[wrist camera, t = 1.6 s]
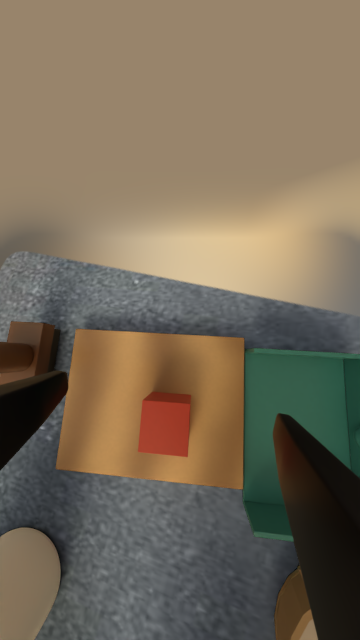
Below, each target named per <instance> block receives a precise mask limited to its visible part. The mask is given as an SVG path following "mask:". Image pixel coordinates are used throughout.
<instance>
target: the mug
mask: <svg viewBox="0 0 360 640" xmlns="http://www.w3.org/2000/svg"><path fill="white" fill-rule="evenodd" d="M60 576H61V569H60V561H59V556H58V553H57V550H56V548H55V546H54V544H53V543H52V541H51V540H50V539H49V538H48V537H47V536H46V535H45V534H44V533H42V532H40V531H39V530H36V529H33V528H17V529H14V530H11V531H9V532H7V533H5V534H4V535H2V536H1V537H0V640H34V639H35V637H36V636H37V634H38V632H39V630H40V629H41V627H42V625H43V623H44V621H45V620H46V618H47V616H48V614H49V612H50V610H51V608H52V606H53V604H54V601H55V599H56V596H57V593H58V589H59V584H60Z"/></svg>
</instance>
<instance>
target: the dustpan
mask: <svg viewBox="0 0 360 640" xmlns="http://www.w3.org/2000/svg"><path fill="white" fill-rule="evenodd" d="M343 359H344V365H343ZM344 372H345V379H344ZM345 386H346V393H345ZM346 400H347V407H346ZM278 413H282V414H287V415H290V416H292V417H293V418H294V419H295V420H296V421H297V422H298V423H299V424H300V425H301V426H303V427H304V428H305V429H306V430H307V431H308V432H309V433H310V434H311V435H313V436H314V437H315V438H316V439H317V440H318V441H319V442H320V443H321V444H322V445H324V446H325V447H326V448H327V449H328V450H329V451H330V452H331V453H332V454H334V455H335V456H336V457H337V458H338V459H339V460H340V461H341V462H342V463H343V464H345V465H346V466H347V467H348V468H349V469H350V470H352V472H353V473H355V474H356V475H357V476H358V477H359V478H360V354H350V353H333V352H315V351H298V350H280V349H263V348H251V349H244V439H243V505H244V508H245V511H246V514H247V517H248V520H249V523H250V526H251V529H252V532H253V535H254V537H261V538H269V539H277V540H284V541H292V542H294V540H293V536H292V532H291V528H290V524H289V520H288V516H287V512H286V508H285V504H284V500H283V496H282V492H281V487H280V483H279V477H278V471H277V463H276V456H275V449H274V442H273V429H274V424H275V420H276V416H277V414H278ZM347 414H348V421H347ZM348 428H349V435H348ZM349 442H350V449H349ZM350 456H351V463H350Z"/></svg>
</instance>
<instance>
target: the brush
mask: <svg viewBox="0 0 360 640" xmlns="http://www.w3.org/2000/svg"><path fill="white" fill-rule="evenodd" d="M54 328H55V325H50V324H46V323H34V322H14V321H11V324H10V329H9V334H8V339H7V342H0V373H1V374H0V385H2V384H6V383H10V382H14V381H17V380H21V379H25V378H29V377H33V376H37V375H41V374H45V373H49V372H52V371H54V367H55V361H56V355H57V348H58V342H59V336H60V330H59V329H54Z"/></svg>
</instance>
